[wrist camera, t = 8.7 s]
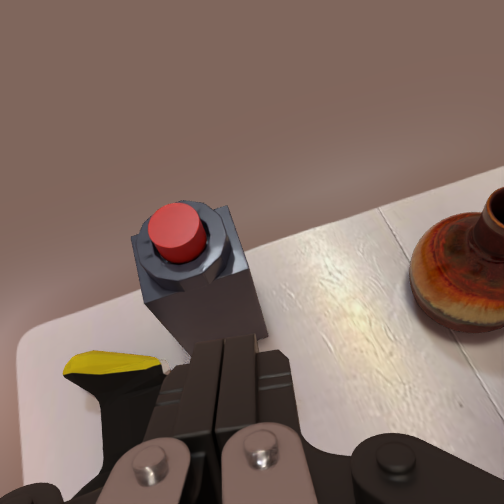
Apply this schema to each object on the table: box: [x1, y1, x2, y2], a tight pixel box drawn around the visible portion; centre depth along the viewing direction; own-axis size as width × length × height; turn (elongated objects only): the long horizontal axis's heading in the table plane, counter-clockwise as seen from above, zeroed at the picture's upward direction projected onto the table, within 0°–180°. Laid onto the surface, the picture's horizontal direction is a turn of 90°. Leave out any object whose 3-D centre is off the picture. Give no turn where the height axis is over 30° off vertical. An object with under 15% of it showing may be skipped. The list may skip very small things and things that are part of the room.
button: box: [148, 203, 207, 264], centre depth 31 cm, size 4×4×2 cm
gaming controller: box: [63, 350, 171, 500], centre depth 41 cm, size 15×6×10 cm
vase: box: [409, 187, 504, 333], centre depth 40 cm, size 11×11×15 cm
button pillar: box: [131, 200, 268, 356], centre depth 40 cm, size 8×6×18 cm
